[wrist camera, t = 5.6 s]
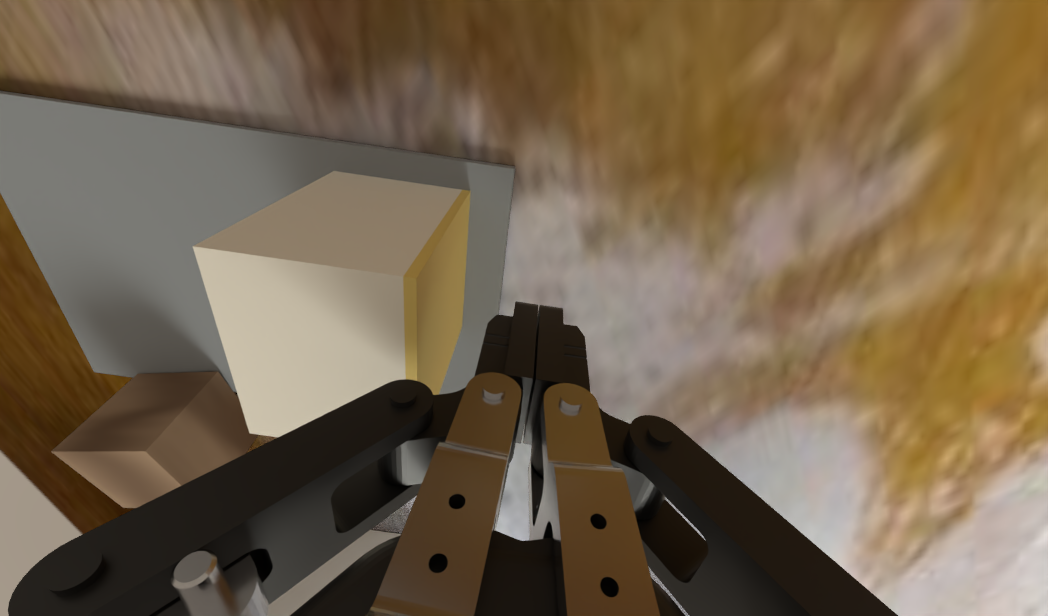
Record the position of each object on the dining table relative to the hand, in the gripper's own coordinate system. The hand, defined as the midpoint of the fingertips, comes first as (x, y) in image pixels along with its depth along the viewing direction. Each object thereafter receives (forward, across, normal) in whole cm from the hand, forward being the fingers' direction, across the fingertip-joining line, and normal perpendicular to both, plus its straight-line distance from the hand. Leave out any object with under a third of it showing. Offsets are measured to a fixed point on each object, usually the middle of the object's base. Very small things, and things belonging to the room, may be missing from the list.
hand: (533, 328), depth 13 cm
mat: (+4, +11, +3) cm, 13 cm away
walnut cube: (+4, +16, +11) cm, 20 cm away
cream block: (+4, +5, 0) cm, 7 cm away
